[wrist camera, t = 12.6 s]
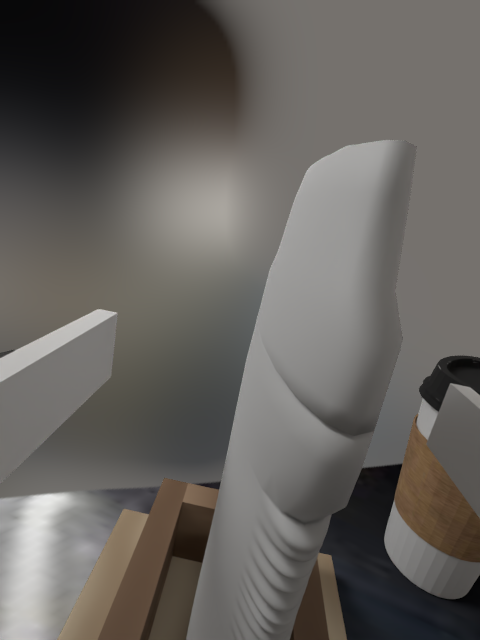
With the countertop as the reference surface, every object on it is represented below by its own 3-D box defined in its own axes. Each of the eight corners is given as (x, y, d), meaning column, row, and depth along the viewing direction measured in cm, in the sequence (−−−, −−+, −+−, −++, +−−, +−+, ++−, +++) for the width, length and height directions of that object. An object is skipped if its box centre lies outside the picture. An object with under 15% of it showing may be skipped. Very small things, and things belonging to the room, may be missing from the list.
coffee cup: (500, 570, 27) (592, 393, 23) (475, 653, 21) (595, 431, 17) (392, 497, 32) (450, 344, 28) (347, 546, 26) (413, 360, 22)
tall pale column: (185, 569, 20) (264, 163, 14) (255, 580, 21) (362, 183, 15) (125, 917, 10) (310, 28, 4) (264, 935, 10) (629, 100, 4)
